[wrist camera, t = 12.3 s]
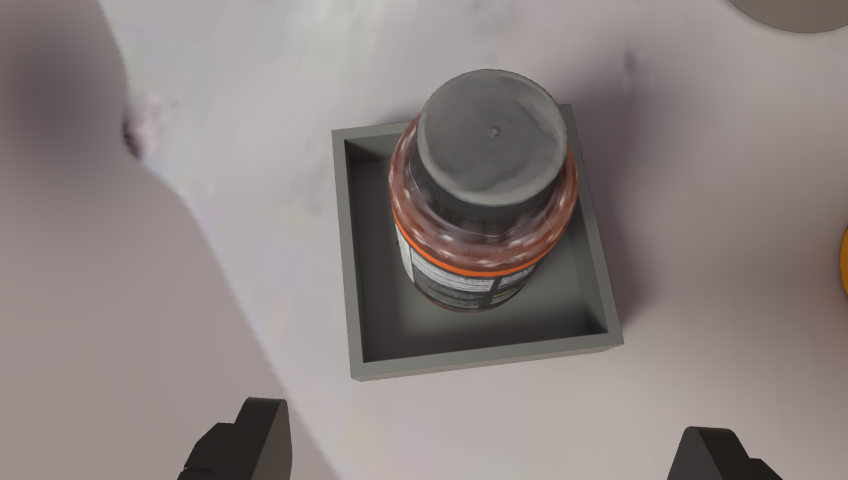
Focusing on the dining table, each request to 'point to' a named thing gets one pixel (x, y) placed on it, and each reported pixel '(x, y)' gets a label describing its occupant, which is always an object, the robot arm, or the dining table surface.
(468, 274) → the supplement bottle
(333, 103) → the dining table surface
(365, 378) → the tray
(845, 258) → the yellow bottle
